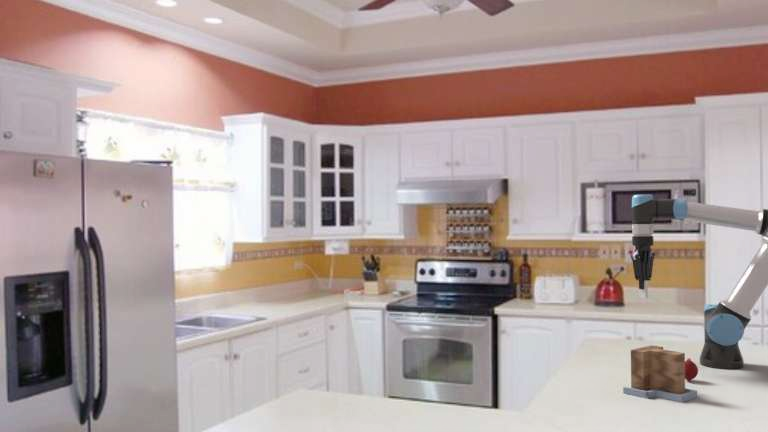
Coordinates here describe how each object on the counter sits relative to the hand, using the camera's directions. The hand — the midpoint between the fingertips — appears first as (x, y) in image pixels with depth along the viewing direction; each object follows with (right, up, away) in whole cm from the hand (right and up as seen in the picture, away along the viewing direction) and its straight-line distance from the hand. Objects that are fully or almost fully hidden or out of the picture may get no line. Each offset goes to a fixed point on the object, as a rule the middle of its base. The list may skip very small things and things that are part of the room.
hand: (643, 297), depth 267 cm
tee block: (-8, -27, -37) cm, 46 cm away
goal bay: (-8, -27, -38) cm, 47 cm away
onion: (+8, -27, -21) cm, 35 cm away
